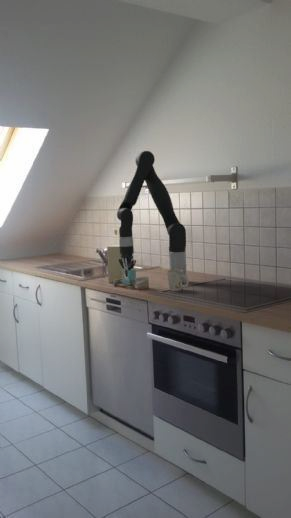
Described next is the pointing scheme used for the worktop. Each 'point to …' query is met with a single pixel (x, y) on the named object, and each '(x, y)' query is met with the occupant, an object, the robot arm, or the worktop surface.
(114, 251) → the toy refrigerator
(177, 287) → the mug
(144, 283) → the track
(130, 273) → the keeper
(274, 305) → the worktop surface
